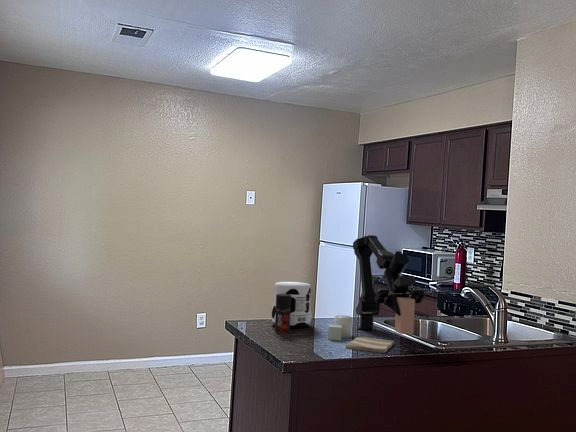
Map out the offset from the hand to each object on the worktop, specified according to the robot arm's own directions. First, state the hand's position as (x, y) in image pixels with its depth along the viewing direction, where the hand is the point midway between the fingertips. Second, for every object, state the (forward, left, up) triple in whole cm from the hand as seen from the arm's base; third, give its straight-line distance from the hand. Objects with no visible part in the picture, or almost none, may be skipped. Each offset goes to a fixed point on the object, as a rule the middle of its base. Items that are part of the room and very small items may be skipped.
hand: (406, 315), depth 203 cm
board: (+2, -12, -12) cm, 18 cm away
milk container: (-16, -52, -13) cm, 56 cm away
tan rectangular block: (-1, -1, -7) cm, 7 cm away
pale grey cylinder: (-10, -27, -13) cm, 31 cm away
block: (-3, -28, -13) cm, 31 cm away
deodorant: (-2, -50, -13) cm, 51 cm away
